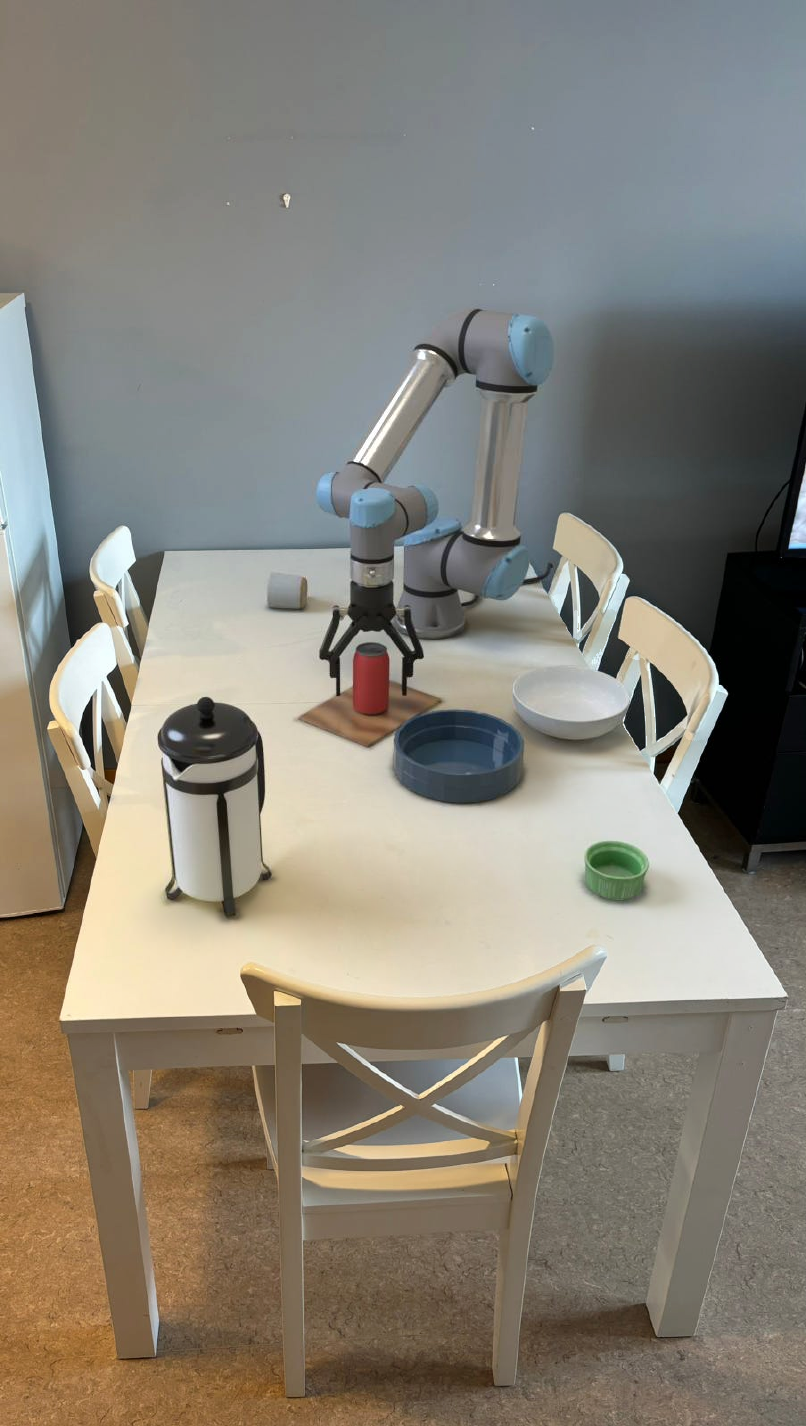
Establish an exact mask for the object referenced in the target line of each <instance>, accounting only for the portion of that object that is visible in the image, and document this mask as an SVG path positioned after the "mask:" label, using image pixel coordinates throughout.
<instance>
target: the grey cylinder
mask: <svg viewBox="0 0 806 1426" xmlns="http://www.w3.org/2000/svg"><path fill="white" fill-rule="evenodd" d="M266 590H267V591H266V602H267V603H266V604H267V606H268V608H275V609H276V608H277V609H292V610H293V609H295V610H297V609H303V608H304V607H305V606H306V603H307V600H308V599H307V598H308V580H307V578H306V577H304V576H301V575H296V574H287V573H280V572H271V573H270V574H269V576H268V580H267V588H266Z"/></svg>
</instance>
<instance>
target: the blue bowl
mask: <svg viewBox="0 0 806 1426" xmlns="http://www.w3.org/2000/svg"><path fill="white" fill-rule="evenodd" d="M524 753H525V741H524V738H523V736H522V734H521V732H520V731H519V730H518V729H517V728H516V727H514V725H512V724H511V723H509V722H507V721H506V720H504V719H502V718H500V717H497V716H495V715H493V714H492V715H491V714H489V713H486V712H480V711H477V710H470V709H459V708H458V709H457V708H456V709H455V708H452V709H438V710H433V711H427V712H423V713H421V714H420V715H418V716H415V717H412V718H411V719H409V720H407V721H406V722H404V723H403V724H402V725H401V726H400V727H399V728H398V729H396V730H395V733H394V736H393V754H392V755H393V756H392V757H393V758H392V764H393V765H392V767H393V771H394V775H395V776H396V778H397V779H398V780H399V782H400V783H401V784H402V785H403V786H404V787H406V788H408V790H411V791H412V792H414V793H415V794H419V795H420V796H423V797H425V798H429V799H432V800H436V801H441V802H448V803H449V802H450V803H460V804H461V803H478V802H484V801H488V800H493V799H496V798H498V797H500V796H503V795H506V794H508V793H510V791H511V790H513V789H514V788H515V787H516V786H517V785H518V784H519V782H520V780H521V778H522V776H523V765H524Z"/></svg>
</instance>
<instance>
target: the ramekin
mask: <svg viewBox="0 0 806 1426" xmlns="http://www.w3.org/2000/svg"><path fill="white" fill-rule="evenodd" d="M649 866H650V862H649V859H648V856H647V855H646V853H645V852H644V851H642V850H641V849H640V848H639V847H637V846H635V845H632V844H630V843H627V842H624V841H618V840H601V841H598V842H595V843H592V844H591V845H590V846H589V847H588V848H587V849H586V850H585V852H584V882H585V885H586V886H587V888H588V889H589V890H590V891H591V892H592V893H594V894H595V895H597V896H599V897H600V898H601V897H602V898H603V899H606V900H612V901H624V900H629V899H631V898H635V896H637V895H638V894H640V892H641V890H642V887H643V884H644V880H645V876H646V874H647V872H648V870H649Z"/></svg>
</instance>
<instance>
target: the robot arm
mask: <svg viewBox="0 0 806 1426" xmlns="http://www.w3.org/2000/svg"><path fill="white" fill-rule="evenodd" d="M554 347H555V346H554V340H553V336H552V333H551V330H550V329H549V326H548V324H546V323H545V321H543V319H541V318H539V317H536V316H532V315H527V314H525V313H520V312H519V313H518V312H517V313H516V312H508V311H507V312H506V311H495V310H486V309H481V308H475V307H474V308H464V309H461V310H460V309H459V310H458V311H456V312H453V313H451V314H449V315H447V316H446V317H444V318H443V319H441V320H440V321H439V322H437V323H436V324H435V325H434V326H432V327H430V329H429V330H428V331H426V333H425V334H424V335H423V336H422V337H421V339H420V340H419V341H418V342H417V343H416V345H415V346H414V348H413V350H412V351H411V353H410V355H409V360H408V361H409V366H408V368H407V369H406V370H405V372H404V374H403V375H402V377H401V379H400V380H399V382H398V383H397V384H396V387H395V388H394V390H393V391H392V393H391V394H390V396H389V397H388V399H387V401H386V402H385V403H384V405H383V407H382V408H381V410H380V411H379V412H378V414H377V416H376V418H375V419H374V420H373V422H372V424H371V425H370V426H369V428H368V430H367V431H366V433H365V435H364V436H363V437H362V440H361V441H360V442H359V444H358V446H357V447H356V448H355V450H354V452H353V453H352V455H351V457H350V458H349V460H348V461H347V463H346V464H345V466H344V467H343V469H342V470H341V472H339V471H328V472H327V473H325V474H323V475H322V477H321V478H320V479H319V481H318V483H317V487H316V490H315V491H316V492H315V497H316V502H317V505H318V506H319V508H320V509H321V510H322V511H323V512H324V513H327V514H330V515H332V516H336V517H338V518H339V519H341V518H343V519H348V520H349V534H350V535H349V536H350V537H349V538H350V551H349V554H350V556H349V575H350V577H349V578H350V579H351V581H350V582H349V588H350V589H349V605H348V607H340V606H339V605H337V604H335V605H333V606H332V618H331V620H330V622H329V625H328V627H327V630H326V633H325V635H324V637H323V640H322V643H321V645H320V648H319V650H318V654H319V655H318V658H319V660H320V661H324V660H325V661H327V662H328V664H329V669H328V671H329V678H330V679H335V691H336V692H335V696H340V693H341V655H342V654H343V653H344V651H345V650H346V648H347V647H348V646H349V645H350V644H351V642H352V641H353V639H354V638H355V637H356V636H358V634H359V633H360V631H362V632H363V633H369V632H374V633H375V632H376V633H380V632H381V631H384V633H385V634H386V635H387V636H388V637H389V638H390V640H391V641H392V642H393V644H394V645H395V646H396V648H397V649H398V651H399V652H400V653H401V655H402V657H401V685H402V696H407V687H408V678H413V676H414V663H415V661H417V660H422V659H424V658H425V653H424V648H423V647H422V644H421V641H420V639H425V640H439V639H440V640H441V639H446V638H450V637H453V636H456V635H459V634H461V632H462V631H464V629H465V626H466V615H465V613H464V609H463V608H464V607H469V606H472V605H474V604H475V603H476V602H477V601H478V600H479V597H482V598H484V599H487V600H488V599H489V600H496V601H502V602H503V601H507V600H508V599H510V598H512V597H513V596H514V595H516V594H517V592H518V591H519V590H520V588H521V586H522V585H523V584H528V583H534V582H539V581H541V580H543V579H546V578H547V577H548V576H549V575H550V573H551V569H552V568H554V566H553V565H554V564H553V563H552V562H548V563H547V567H546V570H545V573H543V574H541V575H539V576H535V577H531V578H526V577H527V575H528V571H529V567H530V564H531V563H530V562H531V555H530V551H529V549H528V548H527V547H525V546H524V545H522V544H521V537H522V532H521V530H519V529H520V528H518V527H517V526H516V513H517V504H518V495H519V485H520V476H521V467H522V460H523V459H522V458H523V450H524V449H523V448H524V441H525V432H526V421H527V412H528V403H529V401H530V399H532V398H533V397H534V396H535V395H536V394H537V393H538V387H539V385H542V384H544V383H545V382H546V381H547V379H548V378H549V376H550V371H551V370H552V369H553V365H554V357H555V352H554V351H555V348H554ZM464 374H469V375H474V376H475V386H474V387H475V388H474V389H475V390H476V391H477V393H479V395H481V398H482V399H481V410H480V420H479V432H478V442H477V451H476V452H477V454H476V465H475V474H474V475H475V476H474V485H473V496H472V497H473V498H472V506H471V507H472V508H471V519H470V521H469V522H468V523H466V524H465V525H464V526H463V525H462V522H461V521H460V520H459V519H458V518H455V517H449V516H438V515H439V510H440V509H439V501H438V498H437V495H436V493H435V492H434V491H433V489H431V488H430V487H428V486H427V485H424V484H415V485H414V484H413V485H412V484H411V485H408V486H407V487H404V488H403V487H400V486H396V485H391V484H386V483H385V481H386V480H387V478H388V476H389V475H390V474H391V472H392V470H393V469H394V467H395V466H396V464H397V462H398V461H399V460H400V458H401V456H402V455H403V453H404V451H405V450H406V448H407V447H408V445H409V444H410V442H411V440H412V439H413V437H414V436H415V434H416V432H417V431H418V429H419V427H420V426H421V425H422V423H423V422H424V420H425V418H426V417H427V415H428V413H429V412H430V410H431V409H432V407H433V406H434V404H435V402H436V401H437V399H438V397H440V394H441V393H442V391H443V390H444V389H446V388H449V387H451V386H453V384H454V383H455V381H456V380H457V377H459V376H461V375H464ZM401 538H403V543H402V546H403V576H402V577H403V581H402V582H403V583H402V584H403V585H402V592H401V595H400V598H399V600H398V603H397V606H395V604H394V593H395V592H394V591H395V590H394V589H395V588H394V585H395V583H394V581H393V580H394V578H395V543H396V541H397V540H399V539H401ZM459 591H463V592H466V593H469V594H472V595H474V597H473V598H472V599H471V600H469V601H465V602H461V599H460V595H459ZM346 616H348V618H350V620H351V622H350V624H349V626H348V628H347V629H346V630H345V631H344V633H343V634H342V635H341V637H340V639H339V640H338V641H337V642H336V643H335V645H334V646H333V648H332V649H331V646H332V643H333V641H334V639H335V637H336V635H337V632H338V629H339V626H340V622H341V621H344V619H345V617H346ZM392 620H393V622H392ZM400 633H401V634H403V635H406V636H408V637H409V639H410V642H411V644H412V647H413V650H411V648H410V647H409V646H408V644H407V642H406V641H405V639H404V638H403V637H402V636H401V634H400ZM330 649H331V650H330Z"/></svg>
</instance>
